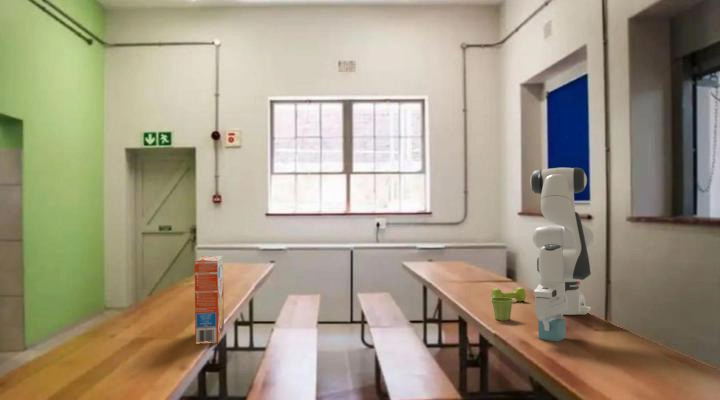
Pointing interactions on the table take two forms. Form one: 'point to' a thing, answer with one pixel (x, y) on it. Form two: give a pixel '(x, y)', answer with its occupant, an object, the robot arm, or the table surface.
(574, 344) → the table surface
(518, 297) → the dumbbell
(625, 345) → the table surface
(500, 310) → the plant pot
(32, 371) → the table surface
